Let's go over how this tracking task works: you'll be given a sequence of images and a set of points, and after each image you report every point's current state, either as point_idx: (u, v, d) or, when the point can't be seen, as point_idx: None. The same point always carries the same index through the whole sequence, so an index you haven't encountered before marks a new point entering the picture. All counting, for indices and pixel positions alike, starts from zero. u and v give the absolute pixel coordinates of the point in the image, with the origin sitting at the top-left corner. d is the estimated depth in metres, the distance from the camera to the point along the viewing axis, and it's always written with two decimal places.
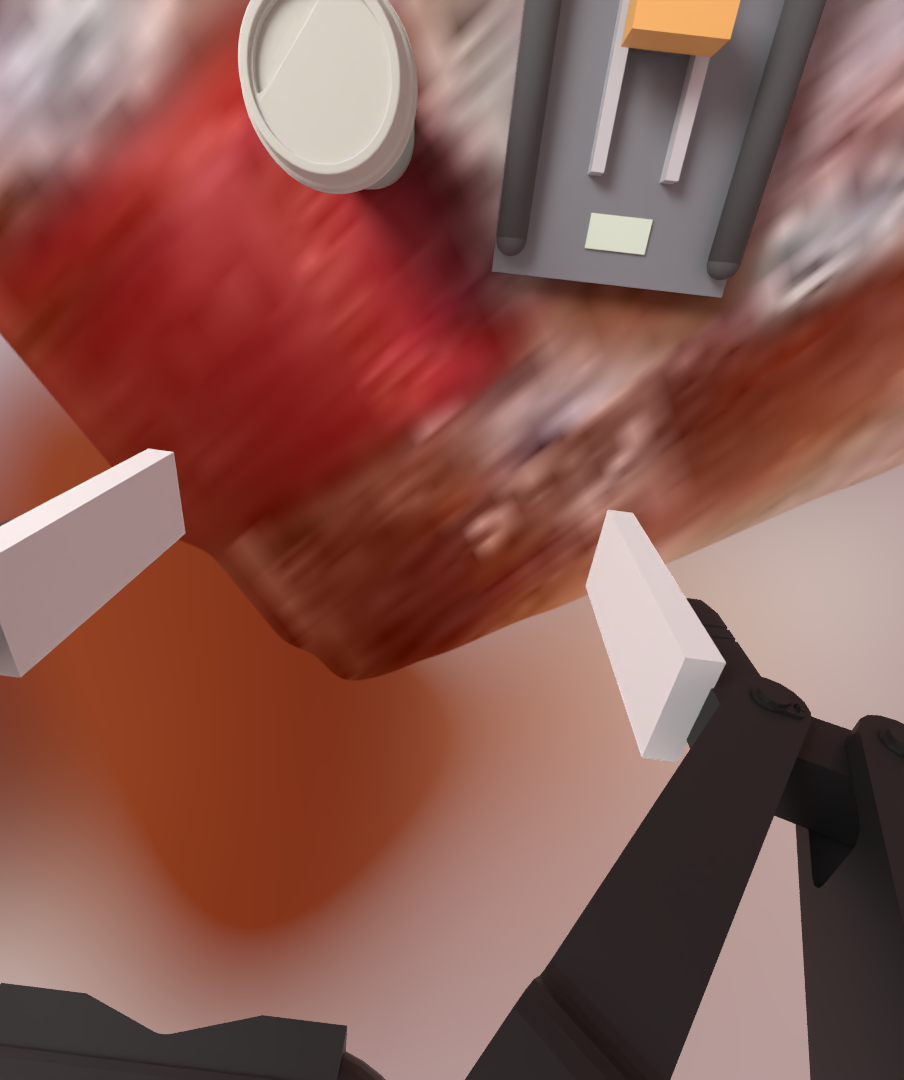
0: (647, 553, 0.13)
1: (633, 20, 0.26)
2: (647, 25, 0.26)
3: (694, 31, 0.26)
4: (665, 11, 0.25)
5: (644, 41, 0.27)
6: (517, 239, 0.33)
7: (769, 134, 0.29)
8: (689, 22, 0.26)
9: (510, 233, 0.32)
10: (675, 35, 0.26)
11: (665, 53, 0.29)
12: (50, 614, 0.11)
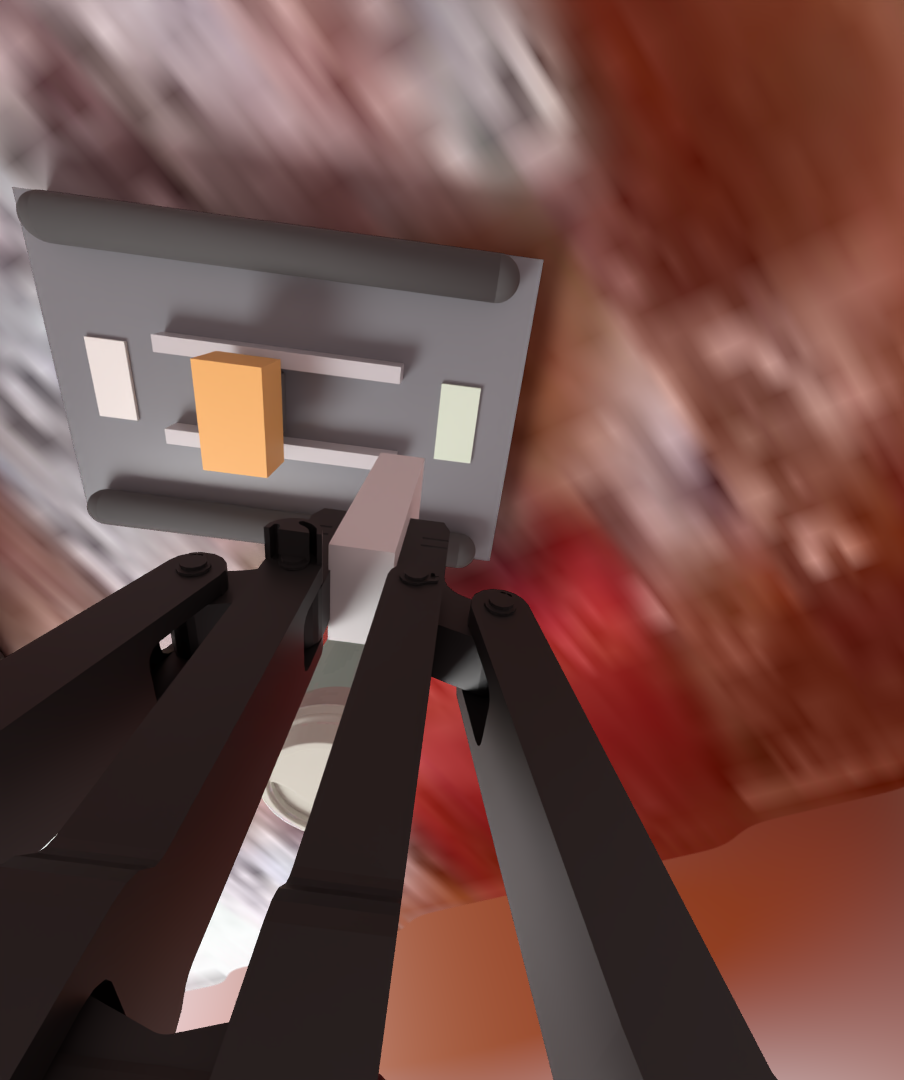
0: (405, 484, 0.15)
1: (261, 476, 0.24)
2: (262, 463, 0.23)
3: (260, 411, 0.22)
4: (249, 445, 0.23)
5: (276, 448, 0.25)
6: (459, 552, 0.28)
7: (346, 259, 0.22)
8: (253, 418, 0.23)
9: (453, 560, 0.28)
10: (267, 427, 0.23)
11: (284, 395, 0.26)
12: None
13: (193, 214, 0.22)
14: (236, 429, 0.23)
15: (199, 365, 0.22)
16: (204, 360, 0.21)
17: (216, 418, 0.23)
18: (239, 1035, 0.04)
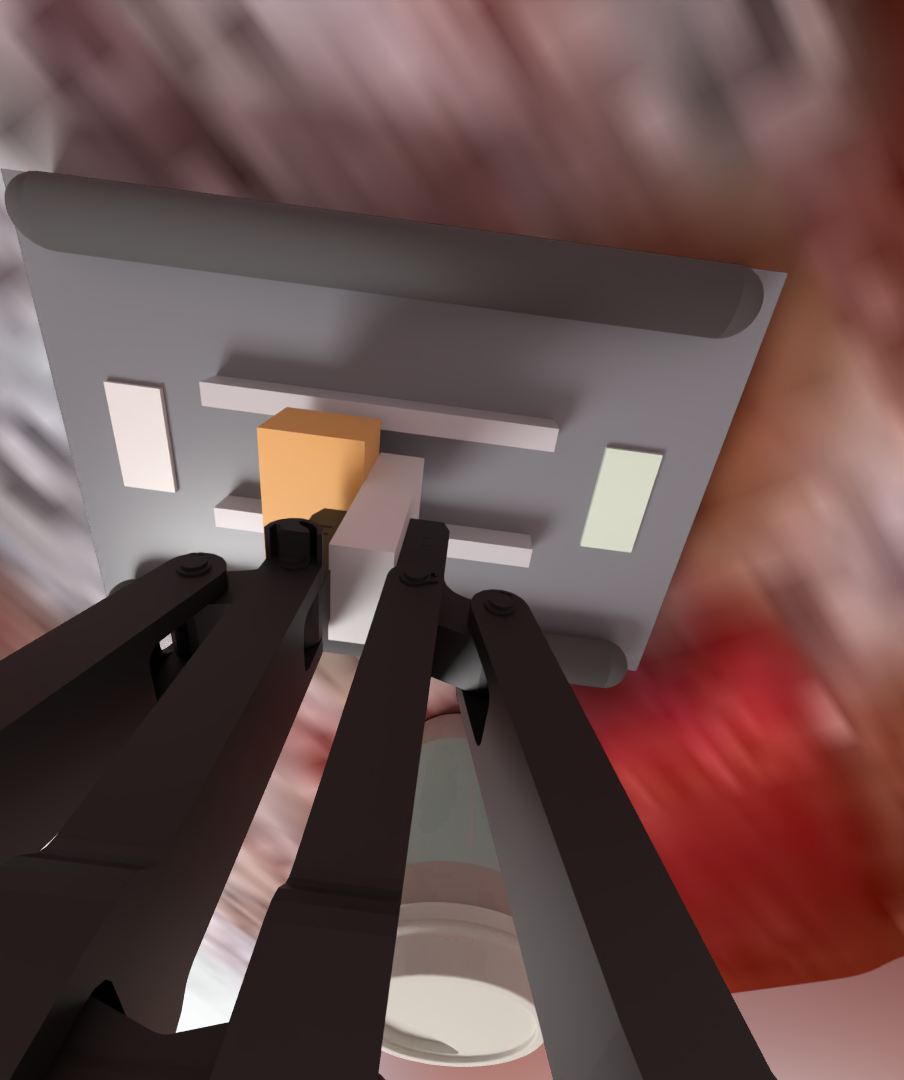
0: (405, 484, 0.15)
1: None
2: None
3: None
4: None
5: None
6: (610, 672, 0.21)
7: (505, 275, 0.14)
8: None
9: (600, 681, 0.21)
10: None
11: None
12: None
13: (271, 207, 0.14)
14: None
15: (270, 437, 0.14)
16: (278, 430, 0.14)
17: (291, 511, 0.15)
18: (239, 1035, 0.04)
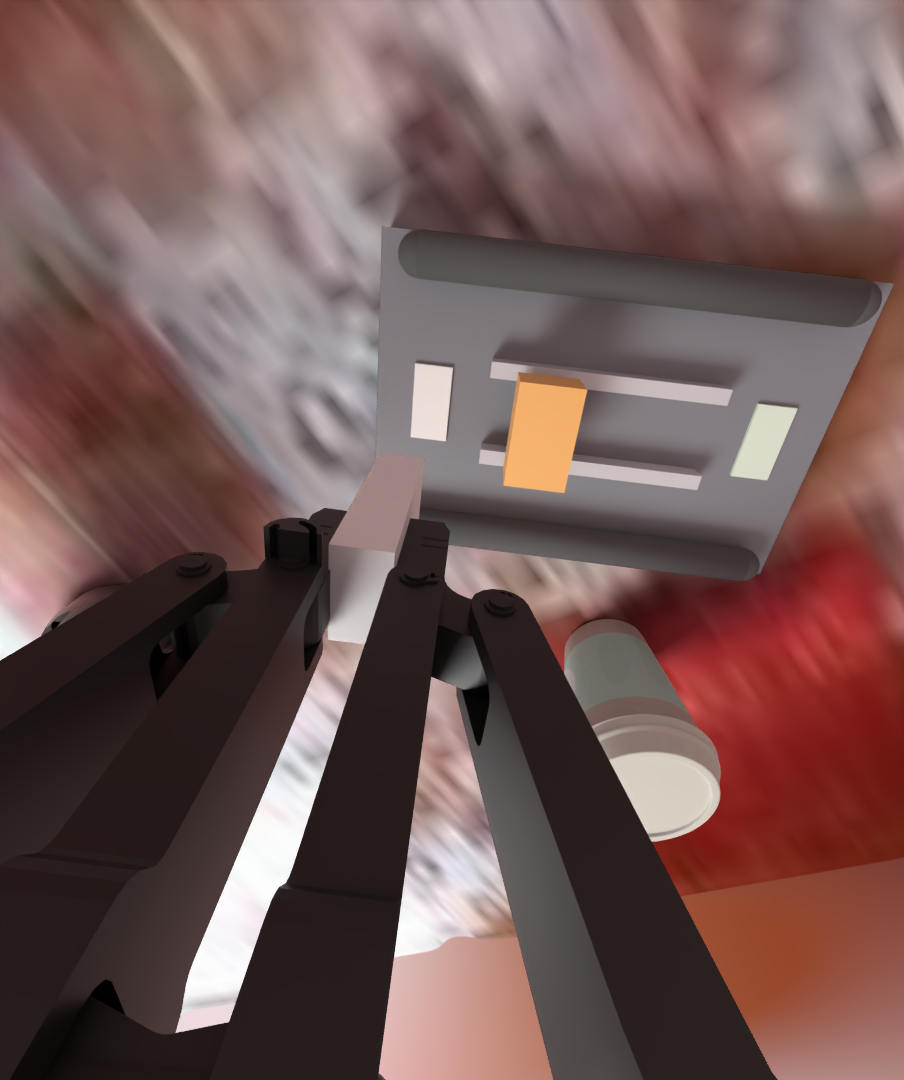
0: (405, 484, 0.15)
1: (557, 491, 0.25)
2: (563, 479, 0.25)
3: (575, 430, 0.23)
4: (554, 462, 0.24)
5: None
6: (749, 567, 0.29)
7: (717, 289, 0.22)
8: (566, 436, 0.24)
9: (741, 574, 0.29)
10: (573, 445, 0.24)
11: None
12: None
13: (570, 249, 0.23)
14: (547, 447, 0.24)
15: (527, 388, 0.23)
16: (533, 383, 0.23)
17: (530, 437, 0.24)
18: (239, 1035, 0.04)
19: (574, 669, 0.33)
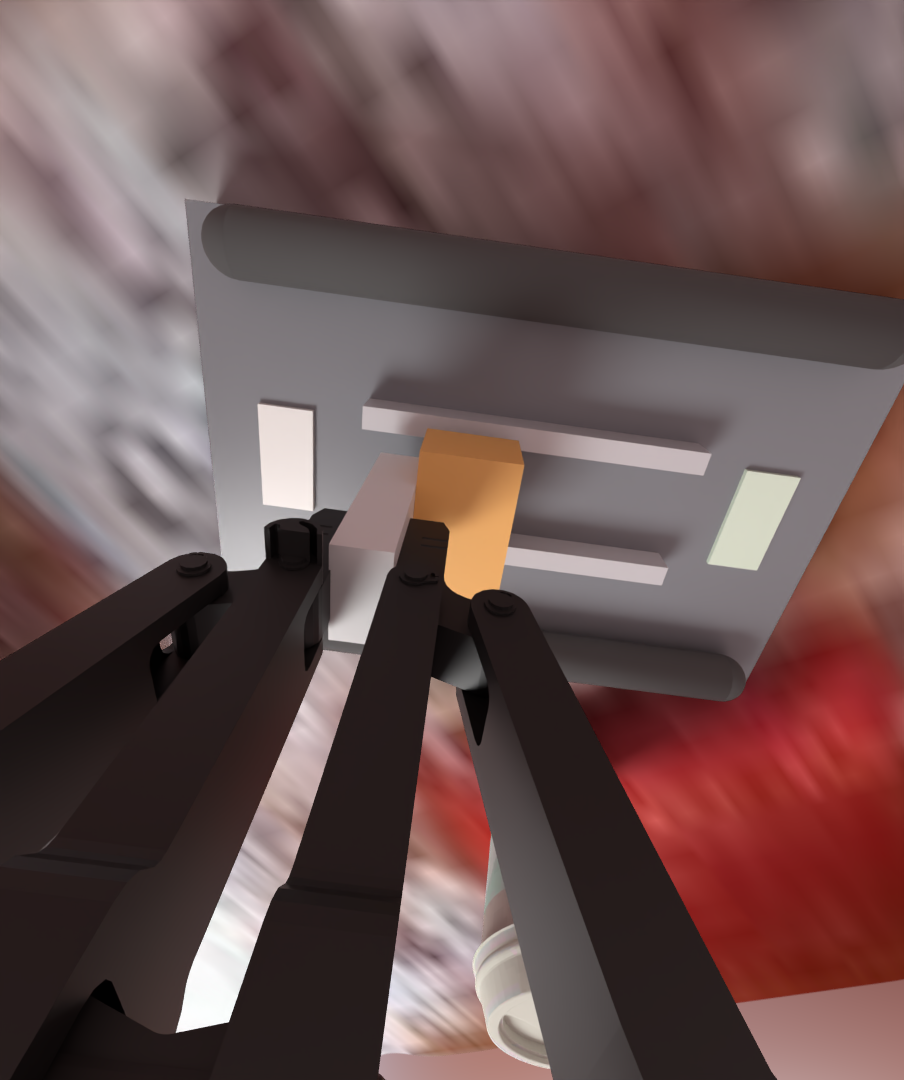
0: (405, 484, 0.15)
1: None
2: None
3: (508, 523, 0.15)
4: (479, 566, 0.16)
5: None
6: (732, 686, 0.21)
7: (689, 309, 0.15)
8: (495, 532, 0.15)
9: (722, 695, 0.21)
10: (507, 541, 0.16)
11: None
12: None
13: (465, 241, 0.14)
14: (467, 546, 0.16)
15: (431, 460, 0.14)
16: (440, 453, 0.14)
17: None
18: (239, 1035, 0.04)
19: None
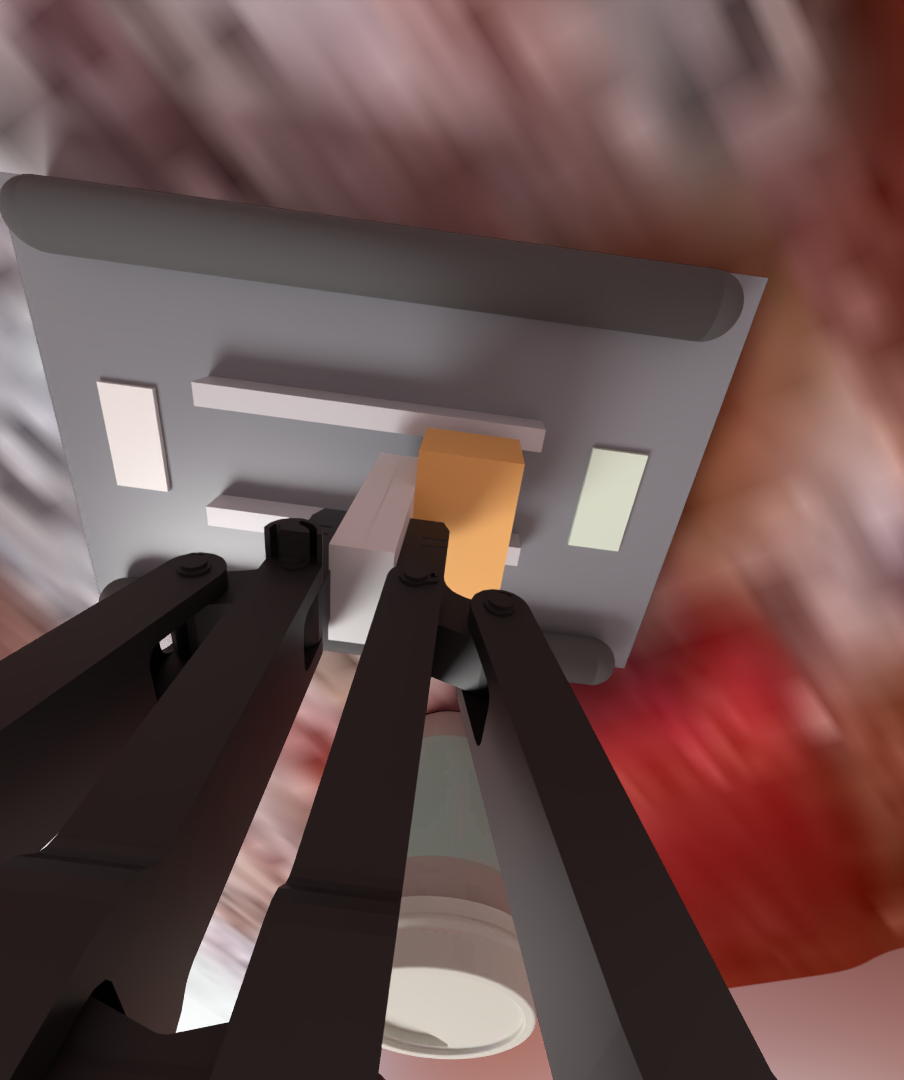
0: (405, 484, 0.15)
1: None
2: None
3: (508, 522, 0.15)
4: (480, 566, 0.16)
5: None
6: (598, 669, 0.21)
7: (491, 279, 0.14)
8: (496, 532, 0.15)
9: (588, 678, 0.21)
10: (507, 541, 0.16)
11: None
12: None
13: (262, 211, 0.14)
14: (467, 546, 0.16)
15: (431, 460, 0.14)
16: (439, 453, 0.14)
17: None
18: (239, 1035, 0.04)
19: None
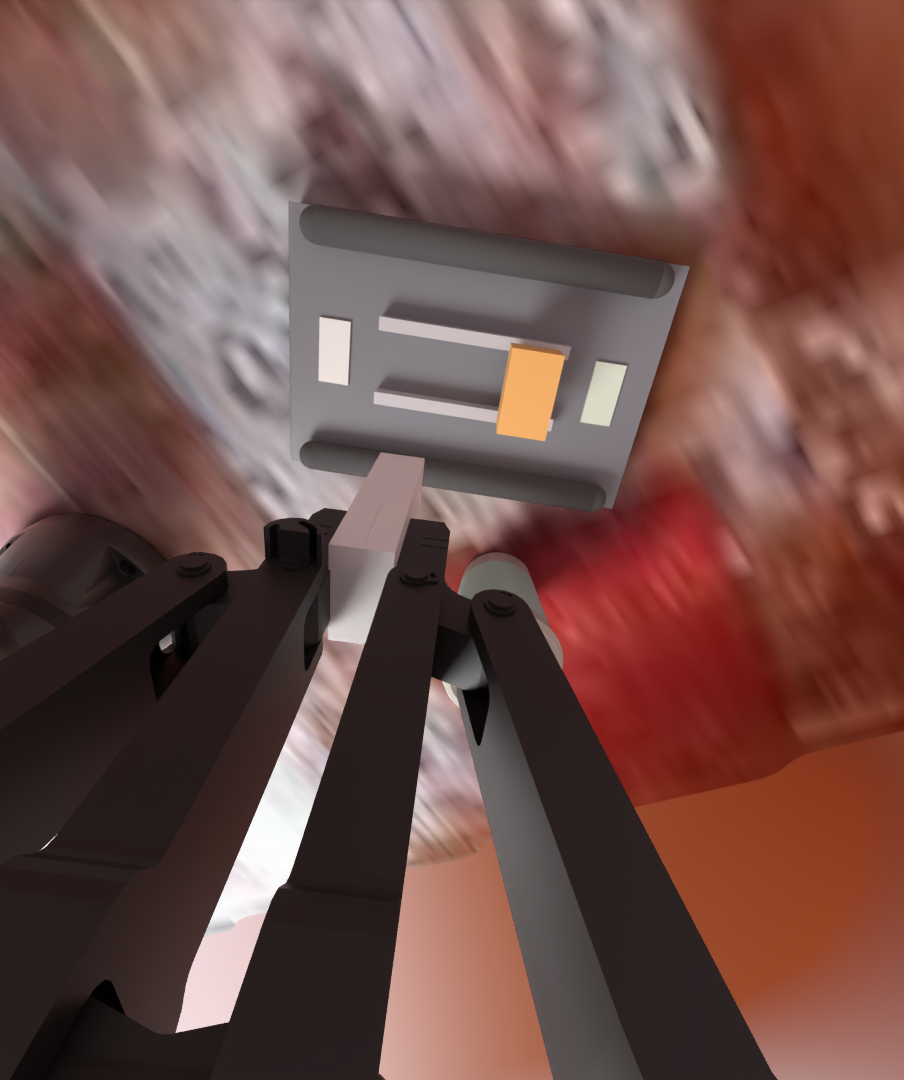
0: (405, 484, 0.15)
1: (539, 439, 0.31)
2: (544, 429, 0.31)
3: (554, 389, 0.30)
4: (538, 415, 0.30)
5: None
6: (596, 498, 0.35)
7: (547, 263, 0.29)
8: (548, 394, 0.30)
9: (590, 504, 0.35)
10: (553, 401, 0.30)
11: None
12: None
13: (434, 226, 0.29)
14: (532, 402, 0.30)
15: (518, 353, 0.29)
16: (522, 349, 0.29)
17: (519, 393, 0.30)
18: (239, 1035, 0.04)
19: (461, 589, 0.39)
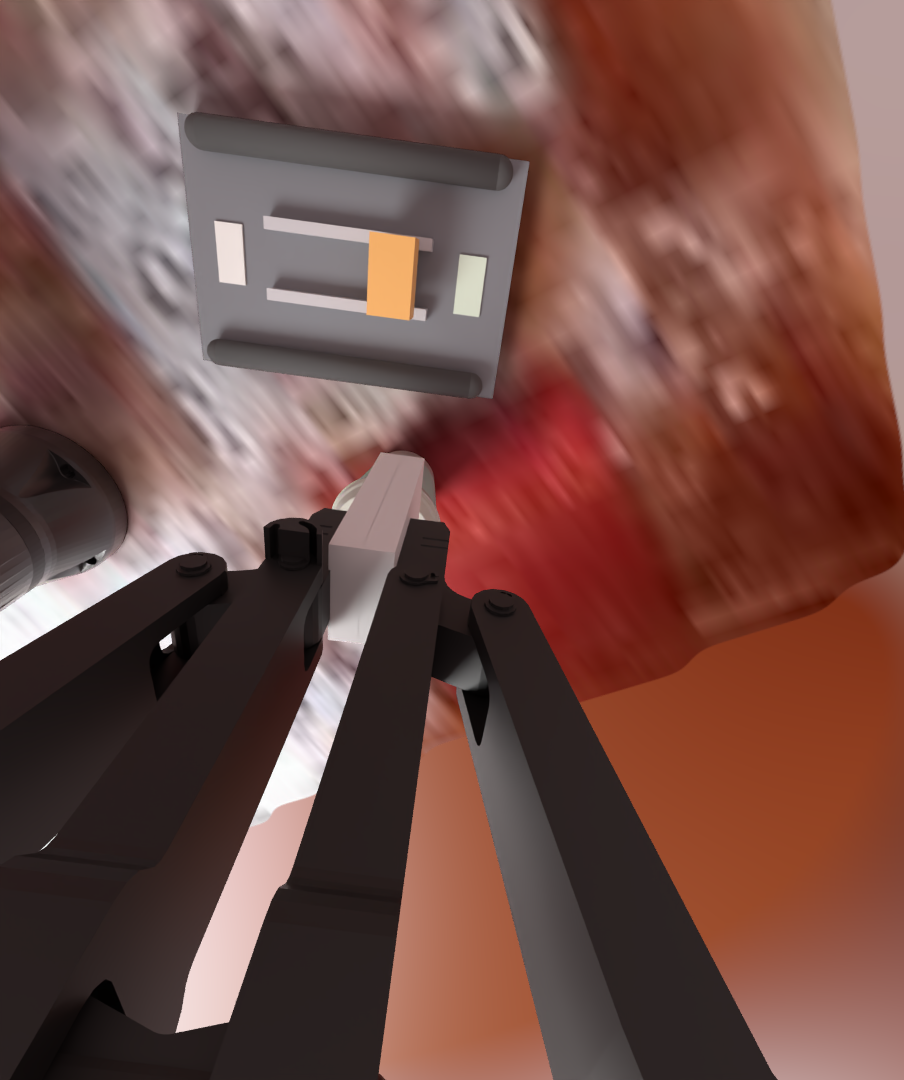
0: (405, 484, 0.15)
1: (404, 319, 0.35)
2: (407, 308, 0.35)
3: (410, 269, 0.34)
4: (400, 295, 0.35)
5: (412, 303, 0.36)
6: (470, 383, 0.40)
7: (399, 157, 0.33)
8: (405, 274, 0.34)
9: (466, 389, 0.40)
10: (412, 282, 0.34)
11: None
12: None
13: (299, 127, 0.33)
14: (393, 283, 0.34)
15: (374, 236, 0.33)
16: (378, 232, 0.33)
17: (380, 275, 0.34)
18: (239, 1035, 0.04)
19: None
